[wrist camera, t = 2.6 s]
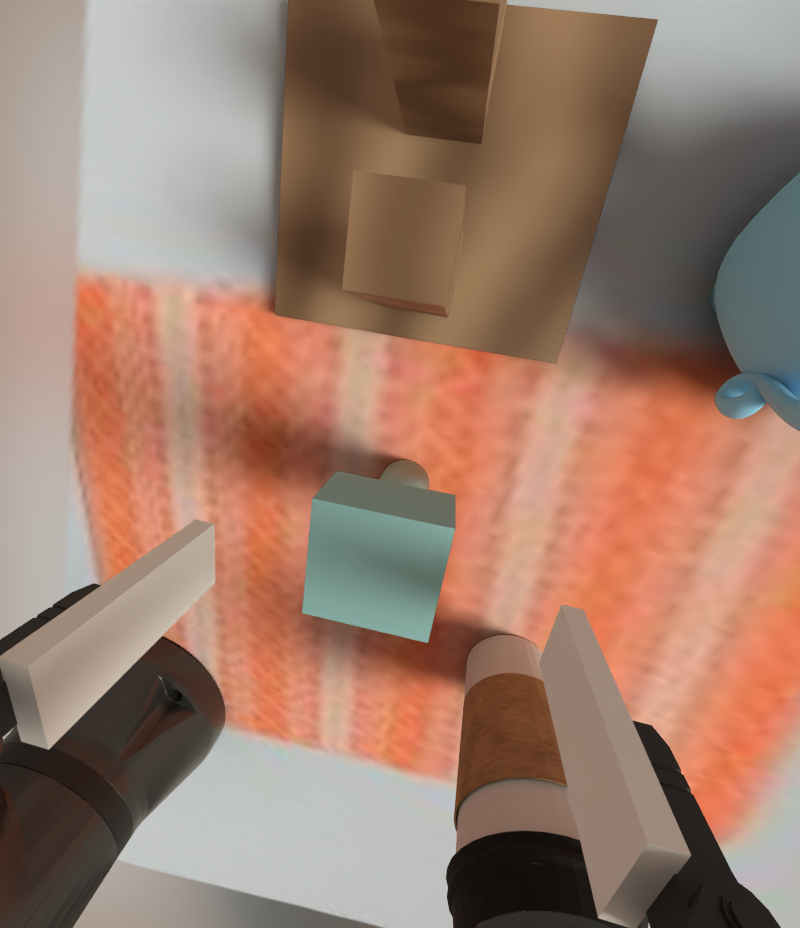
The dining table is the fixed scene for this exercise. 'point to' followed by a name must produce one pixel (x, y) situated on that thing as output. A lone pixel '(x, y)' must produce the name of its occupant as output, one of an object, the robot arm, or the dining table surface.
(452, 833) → the dining table surface
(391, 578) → the peg
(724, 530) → the dining table surface
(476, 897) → the coffee cup
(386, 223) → the bracket
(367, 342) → the dining table surface
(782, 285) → the teapot
